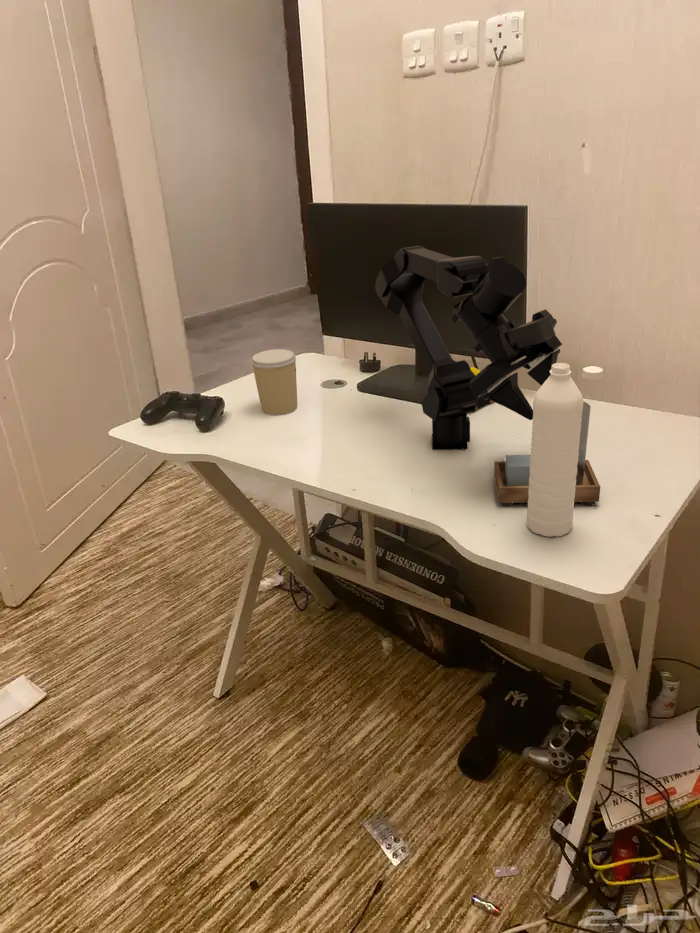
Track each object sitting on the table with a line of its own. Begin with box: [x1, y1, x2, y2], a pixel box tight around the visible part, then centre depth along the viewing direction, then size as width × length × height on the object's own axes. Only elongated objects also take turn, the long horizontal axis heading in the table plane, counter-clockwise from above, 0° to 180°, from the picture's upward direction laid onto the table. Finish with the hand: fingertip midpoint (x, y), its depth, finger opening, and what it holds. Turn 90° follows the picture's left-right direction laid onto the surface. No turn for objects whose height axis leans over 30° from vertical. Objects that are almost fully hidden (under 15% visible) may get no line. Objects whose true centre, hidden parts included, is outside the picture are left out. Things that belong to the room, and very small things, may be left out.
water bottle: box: [526, 362, 604, 538], centre depth 96 cm, size 9×6×25 cm
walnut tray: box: [493, 459, 601, 507], centre depth 110 cm, size 15×9×3 cm, turn 84°
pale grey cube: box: [505, 454, 531, 486], centre depth 110 cm, size 4×4×4 cm
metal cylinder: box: [576, 401, 591, 485], centre depth 107 cm, size 5×5×13 cm
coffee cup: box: [251, 348, 298, 417], centre depth 148 cm, size 9×9×12 cm
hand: (548, 408), depth 107 cm, fingers open, 9 cm apart
